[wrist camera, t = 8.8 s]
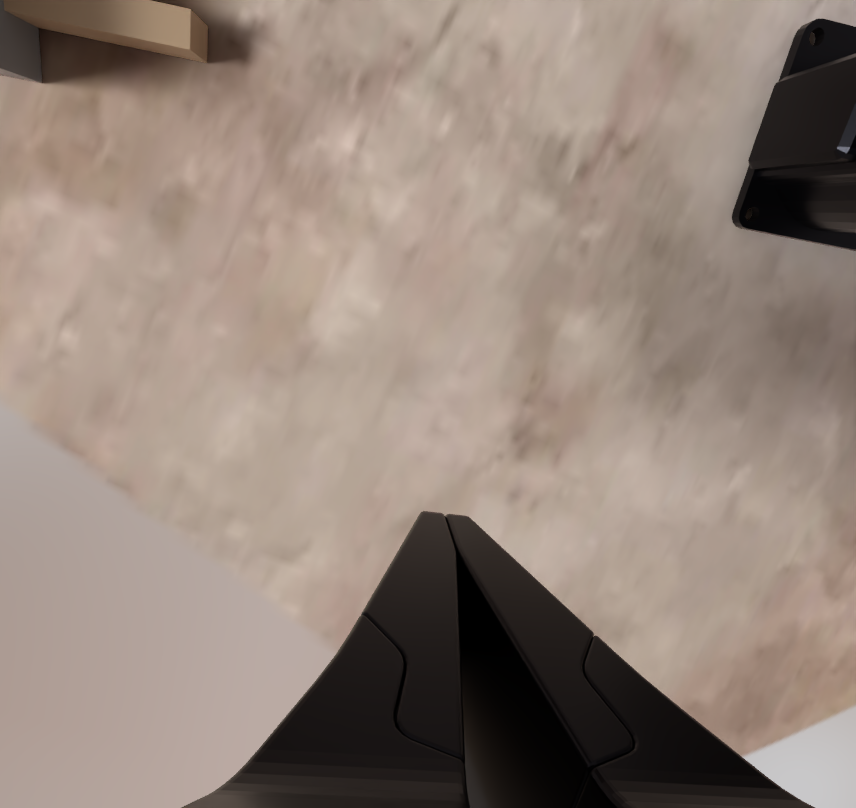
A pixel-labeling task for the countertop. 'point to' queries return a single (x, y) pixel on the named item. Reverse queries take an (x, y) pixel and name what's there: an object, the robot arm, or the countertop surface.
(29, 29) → the rack
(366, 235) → the countertop surface
